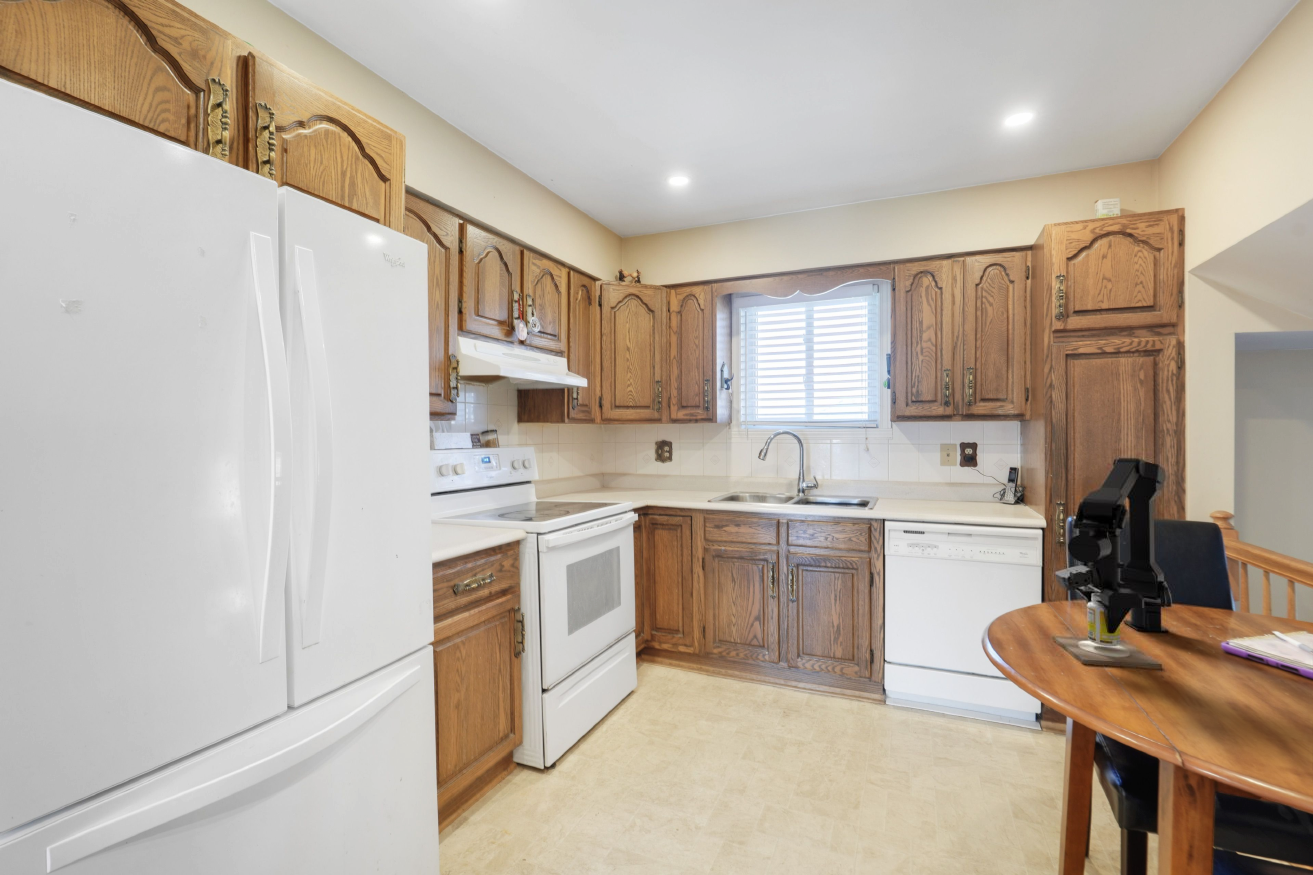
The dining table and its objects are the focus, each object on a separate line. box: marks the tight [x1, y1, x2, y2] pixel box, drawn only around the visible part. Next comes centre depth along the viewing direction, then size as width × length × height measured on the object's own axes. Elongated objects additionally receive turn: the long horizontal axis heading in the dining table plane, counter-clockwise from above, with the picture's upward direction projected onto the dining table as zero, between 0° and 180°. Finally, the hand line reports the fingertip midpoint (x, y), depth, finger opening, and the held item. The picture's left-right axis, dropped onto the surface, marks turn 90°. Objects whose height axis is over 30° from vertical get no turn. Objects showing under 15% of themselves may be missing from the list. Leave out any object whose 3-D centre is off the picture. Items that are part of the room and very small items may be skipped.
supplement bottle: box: [1086, 593, 1121, 646], centre depth 125 cm, size 6×6×10 cm
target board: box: [1052, 635, 1163, 670], centre depth 125 cm, size 14×14×1 cm
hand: (1103, 628), depth 125 cm, fingers closed on supplement bottle, 5 cm apart
